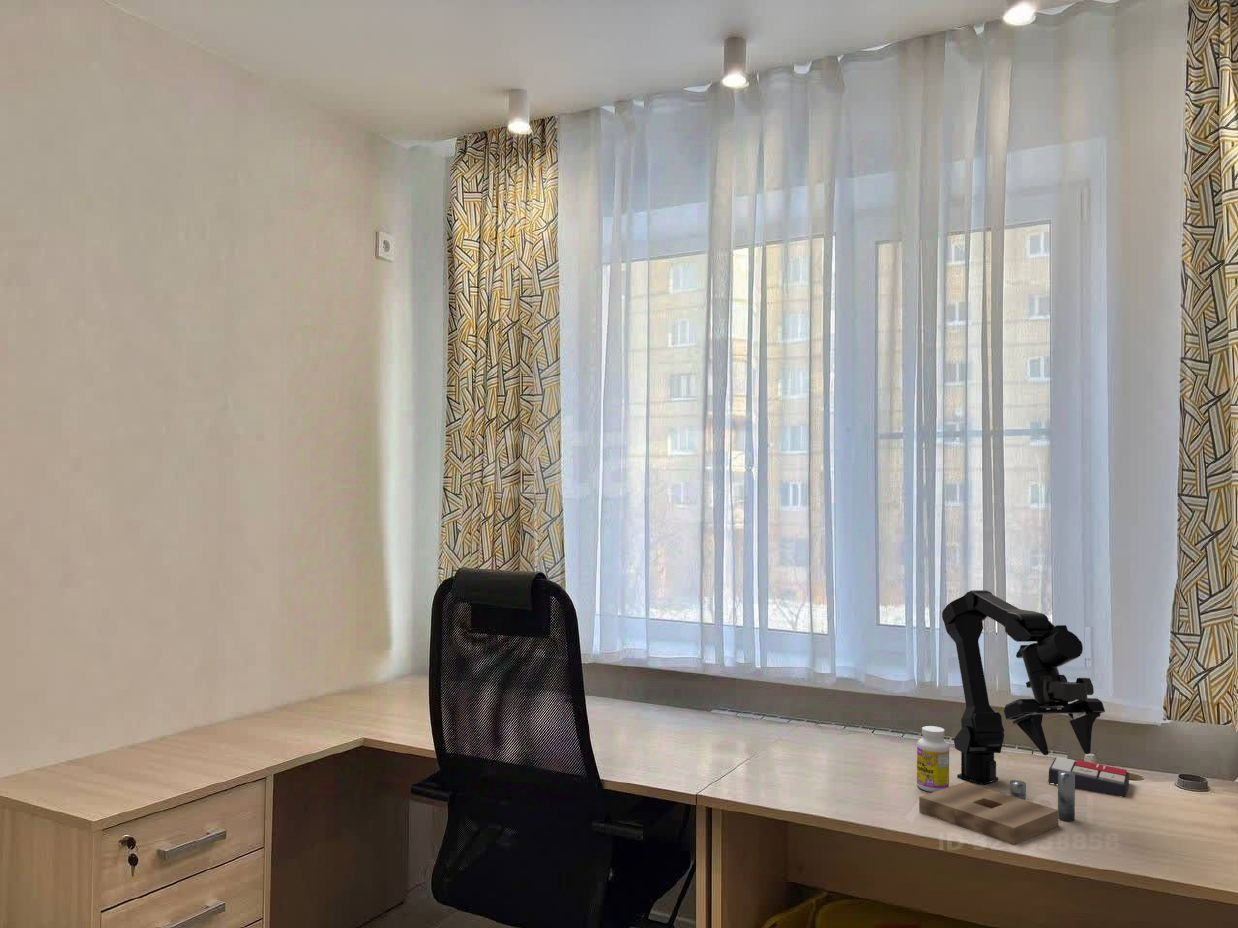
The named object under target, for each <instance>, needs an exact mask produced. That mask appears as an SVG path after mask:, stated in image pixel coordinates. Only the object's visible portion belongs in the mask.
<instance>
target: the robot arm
mask: <svg viewBox="0 0 1238 928" xmlns="http://www.w3.org/2000/svg"><path fill="white" fill-rule="evenodd" d="M941 618H942V620H943V622H944V624H943V625H944V626H945V627H944V628H945V631H946V633H947V635H949V637H950V638H951V640H953V642H954V643H955V647H956V653H957V659H958V665H959V670H960V671H959V672H960V677H961V682H962V689H963V695H964V699H965V700H964V701H965V709H964V712H963V714H962V717H961V719H960V723H961V725H960V726H961V729H960V731H958V733H957V734H956V735H955V736H954V737H953V744H954V749H956V750H957V751H959V752H960V755H961V756H960V757H961V758H960V760H961V761H960V762H961V763H960V765H961V767H960V771H961V772H960V773H957V775H956V776H957V778H959V779H963V780H966V781H969V782H973V783H976V784H979V785H987V784H989V783H992V782H995V781H998V780H999V776H997V761H996V759H995V754H1001V751H1002V749H1003V748H1002V747H1003V744H1004V741H1005V728H1004V725H1003V719H1002V718H1003V717H1002V715H1001V713H1000V711H999V712H996V711H995V710H994V709H993V708H992V707H991V705H990V699H989V696H988V695H989V694H988V689H987V683H986V678H985V677H986V676H985V671H984V666H983V661H982V656H981V649H980V644H979V640H980V637H981V635H982V633H983V631H984V622H983V621H984V620H986V619H987V618H989V619H992V620H993V621H995V622H997V623H998V624H1000V625H1002V626H1003V627H1004V632H1005V633H1006V635H1008V636H1009V637H1010V638H1011V639H1012V640H1013V641H1015V642H1018V643H1021V642H1024V643H1025V642H1028V643H1029V642H1030V644H1021V645H1020V646H1019V649H1018V651H1017V652H1016V655H1015V657H1016V658H1017V659H1022V660H1023V663H1024V668H1025V671H1026V674H1027V677H1028V681H1027V682H1025V685H1026V688H1027V689H1028V688H1029V689H1031V692H1032V694H1033V698H1018V699H1016V700H1013V701H1011V702H1009V703H1007V704H1005V706H1004V709H1003V712H1004V716H1005V720H1007V721H1012V723H1013V724H1012V725H1017V726H1018V727H1019V729H1021V730H1022V731H1023V733H1024V734H1026V735H1027V737H1028V738H1029V739H1030V740H1031V741H1032V743H1033V744H1034V745H1035V747H1036V748H1037V749H1038V750H1039V751H1040V752H1041V754H1042V755H1043V756H1048V755H1049V748H1048V743H1047V740H1046V736H1045V732H1044V729H1043V726H1042V724H1043V718H1044V717H1043V716H1044V715H1052V714H1053V715H1058V714H1059V715H1061V714H1062V715H1065V714H1067V715H1068V716H1069V717H1070V718H1072V719H1070V720H1069V724H1070V726H1071V728H1072V730H1073V733H1074V734H1075V736H1076V739H1077V741H1078V743H1079V745H1080V747H1081V750H1082V751H1083V753H1084V754H1085V755H1090V754H1091V749H1092V732H1093V731H1092V730H1093V725H1094V723H1095V721H1096V719H1098V718H1100V717H1101V714H1104V713H1105V712H1106V710H1105V706H1104V703H1103V701H1101V700H1100V699H1099V698H1096V697H1093V698H1092V697H1091V698H1089V697H1088V696H1093V695H1094V692H1095V691H1094V685H1093V682H1092V680H1091V677H1090V678H1089V677H1077V678H1076V681H1074V682H1073V681H1068V679H1067V677H1066V676H1065V674H1060V672H1059V667H1061V666H1063V665H1065V664H1067V663H1070V662H1072V661H1073V660H1075V659H1078V658H1079V657H1081V656H1082V654H1083V651H1084V647H1083V643H1082V641H1081V640H1080V638H1079V637H1078V636H1077V635H1076V634H1075V633H1073V632H1072V631H1070V630H1068V627H1067V625H1066V624H1062V625H1061V624H1059V625H1058V624H1057V625H1054V624H1053V623H1052V622H1051V621H1050V620H1049V618H1048V616H1047V615H1046V614H1044V613H1042V612H1039V611H1033V610H1026V609H1020V608H1018V607H1016V606H1015V605H1014V604H1010V603H1009V602H1007V601H1005V600H1004V599H1001V598H1000V597H998V596H996V595H994V594H993V593H992V592H991V591H989V590H986V589H985V590H983V589H982V590H977V589H976V590H975V589H973V590H972V589H971V590H970V591H967V592H966V593H965V594H964V595H962V596H960V597H958V598H957V599H954V600H952V601H951V602H949V603H948V604H947V605H946V606H945V608H943V610H942V614H941ZM1031 642H1034V643H1031ZM1035 642H1036V643H1035ZM1069 702H1070V703H1069Z"/></svg>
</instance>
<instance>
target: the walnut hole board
mask: <svg viewBox="0 0 1238 928" xmlns="http://www.w3.org/2000/svg"><path fill="white" fill-rule="evenodd" d="M918 799H919V801H918V803H919V804H918V807H919V808H918V812H919V813H921V814H924V815H927V816H930V815H931V816H930V817H933V816H934V817H933V818H936V817H937V818H936V819H939V820H942V821H944V822H948V823H951V824H954V825H956V826H959V827H962V828H965V829H968V830H971V831H975V832H977V833H979V834H983V835H985V836H988V837H991V838H994V839H997V840H1001V841H1002V842H1007V843H1008V844H1012V845H1016V844H1019V843H1021V842H1023V841H1025V840H1029V839H1031V838H1032V837H1036V836H1037V835H1040V834H1043V833H1045V832H1047V831H1050V830H1051V829H1054V828H1056V827H1059V820H1060V819H1059V810H1058V809H1056V808H1052V807H1049V806H1047V805H1046V806H1045V805H1042V804H1039V803H1036V802H1032V801H1029V800H1027V799H1026V800H1023V799H1020V798H1016V797H1013V796H1010V794H1006V793H1002V792H999V791H996V790H992V789H988V788H987V787H982V786H978V785H975V784H973V783H970V782H966V781H964V782H961V783H957V784H955V785H952V786H949V787H948V788H945V789H942V790H939V791H936V792H929V793H926V794H923V795H921V796H920V795H919V797H918Z"/></svg>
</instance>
